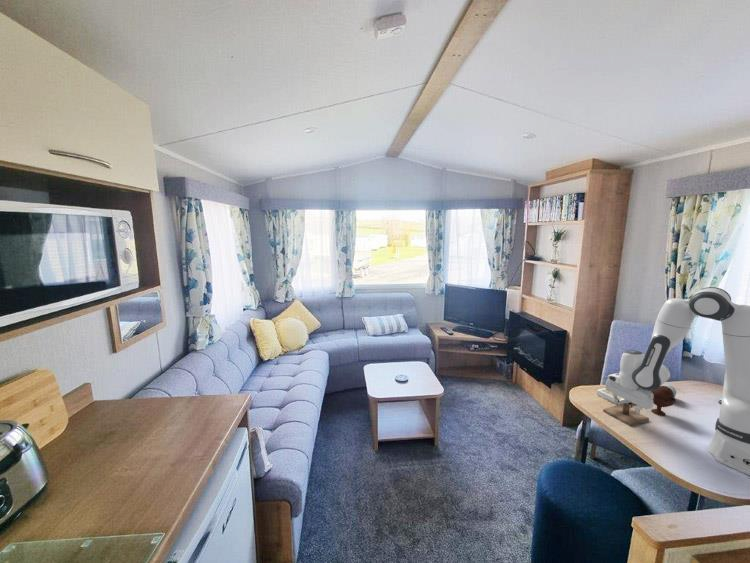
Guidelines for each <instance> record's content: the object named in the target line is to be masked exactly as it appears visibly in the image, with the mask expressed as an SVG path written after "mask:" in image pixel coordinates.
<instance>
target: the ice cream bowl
mask: <svg viewBox="0 0 750 563" xmlns="http://www.w3.org/2000/svg"><path fill="white" fill-rule="evenodd" d="M651 392H652V393H653V394H654V398H653V405H655V406H656V408H651V413H652V414H654V415H657V416H660V417H665V416H666V412H665V411H663V410H662V408H668V407H671V406H673V405H674V404H675V403H676V401H677V400H676V397H675V398H674V397H673V391H672V390H671V389H670V388H669V387H667V386H660V387H659V388H658V389H657V390H655V391H651Z"/></svg>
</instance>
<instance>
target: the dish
mask: <svg viewBox="0 0 750 563" xmlns="http://www.w3.org/2000/svg"><path fill="white" fill-rule="evenodd" d="M596 395H597V396H599V397H601V398H603V399H604V400H606V401H607V402H611V403H613V404H615V406H617V405H620V404H621V405H623V403H627V404H633V403H632V402H630V401H628V400H626V399H623V398H621V397H619V396H617V397H618V399H619V400H620V401H619V403H615V402H614V398H613V395H612V393H611V392H609V391H607V390H606V389H605V387H603V388H600V389H597V391H596Z"/></svg>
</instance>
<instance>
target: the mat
mask: <svg viewBox="0 0 750 563" xmlns="http://www.w3.org/2000/svg"><path fill="white" fill-rule="evenodd" d="M603 413H606V414H607V415H609V416H611V417H613V418H615V419H616V420H618V421H621V420H620V419H618V418H616V417H614V416H612V415H610V414H609V413H607V412H605V411H603ZM648 421H649V420H647V421H643V422H640V423H637V424H634V425H639V424H641V423H646V422H648ZM621 422H622V423H624V424H626V425H627V426H629V427H633V426H634V425H629V424H627V423H625V422H623V421H621Z"/></svg>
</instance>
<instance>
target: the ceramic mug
mask: <svg viewBox="0 0 750 563" xmlns="http://www.w3.org/2000/svg"><path fill="white" fill-rule="evenodd" d="M661 386H667V387H669V388H670V389H671V390H672V391H673V397H674V398H675V399H676V396H677V390H676V388H675V387H673V386H672V385H671V384H667V383H664V384H662V385H661Z"/></svg>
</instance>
